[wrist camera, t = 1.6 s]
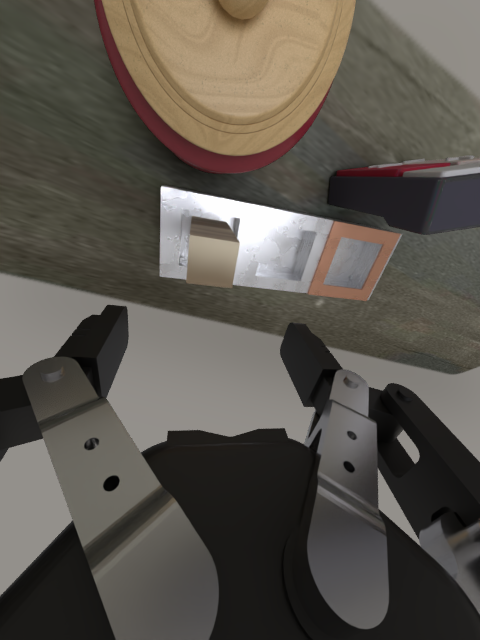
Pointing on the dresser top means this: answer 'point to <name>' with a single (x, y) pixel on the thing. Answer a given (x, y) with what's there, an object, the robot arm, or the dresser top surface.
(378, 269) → the rail
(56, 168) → the dresser top surface
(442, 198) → the dark grey box
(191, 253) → the peg
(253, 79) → the canister
